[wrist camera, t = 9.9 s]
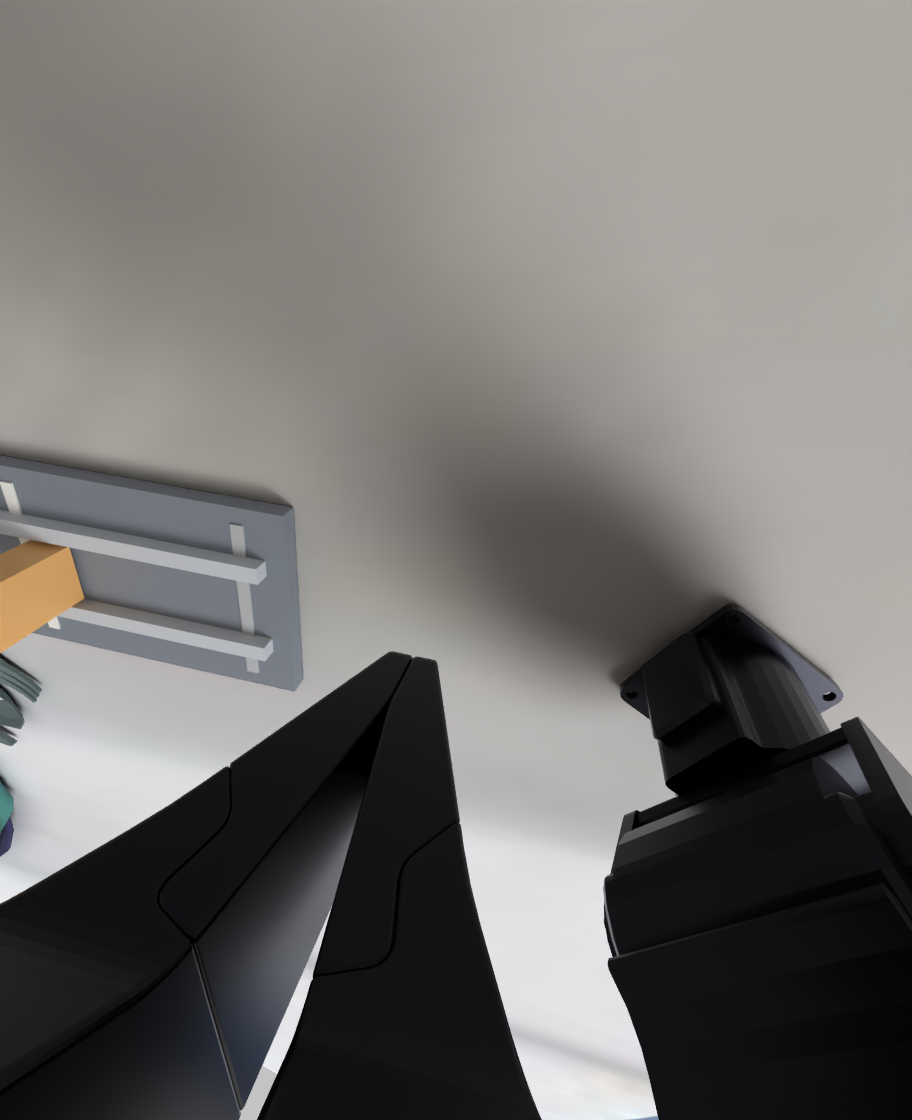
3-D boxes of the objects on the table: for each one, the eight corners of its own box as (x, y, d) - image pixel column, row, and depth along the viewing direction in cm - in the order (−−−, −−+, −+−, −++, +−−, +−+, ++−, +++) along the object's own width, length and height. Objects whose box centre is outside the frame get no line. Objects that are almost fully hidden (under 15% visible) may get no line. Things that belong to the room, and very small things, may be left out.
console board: (293, 507, 23) (273, 523, 22) (303, 678, 28) (287, 702, 27) (-19, 451, 25) (-58, 463, 24) (40, 620, 30) (11, 639, 29)
